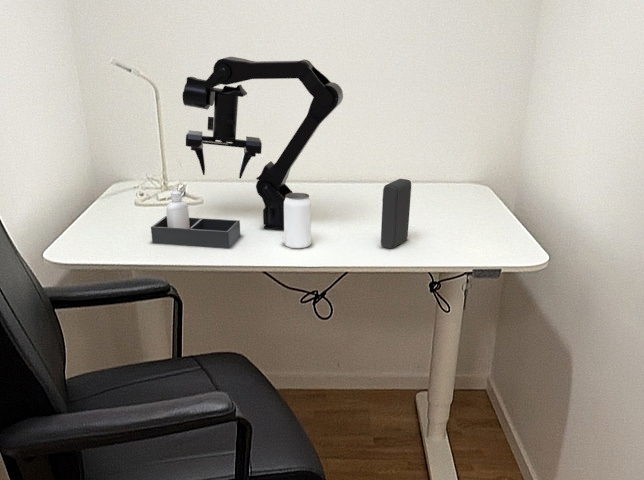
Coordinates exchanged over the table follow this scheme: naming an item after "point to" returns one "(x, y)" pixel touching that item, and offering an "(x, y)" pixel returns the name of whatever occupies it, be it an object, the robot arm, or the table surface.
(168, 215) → the eye dropper bottle
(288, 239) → the can
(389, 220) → the dark grey upright block
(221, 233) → the divided tray
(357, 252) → the table surface
